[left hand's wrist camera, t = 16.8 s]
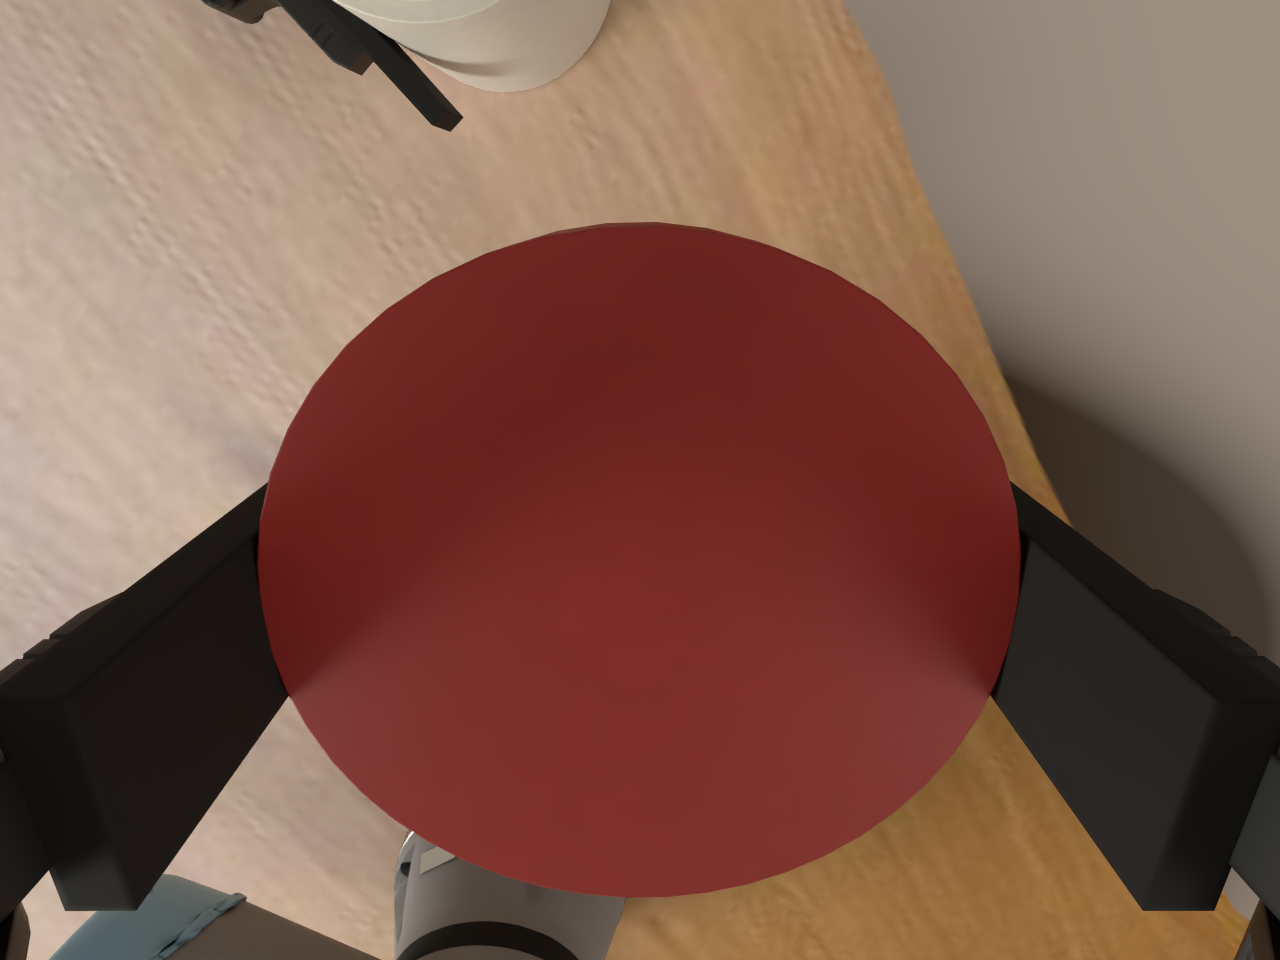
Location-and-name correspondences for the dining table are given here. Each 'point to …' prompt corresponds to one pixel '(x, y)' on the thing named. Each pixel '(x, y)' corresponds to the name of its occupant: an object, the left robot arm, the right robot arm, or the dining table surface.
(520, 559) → the lid
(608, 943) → the left robot arm
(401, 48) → the right robot arm
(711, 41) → the dining table surface
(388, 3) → the jar
